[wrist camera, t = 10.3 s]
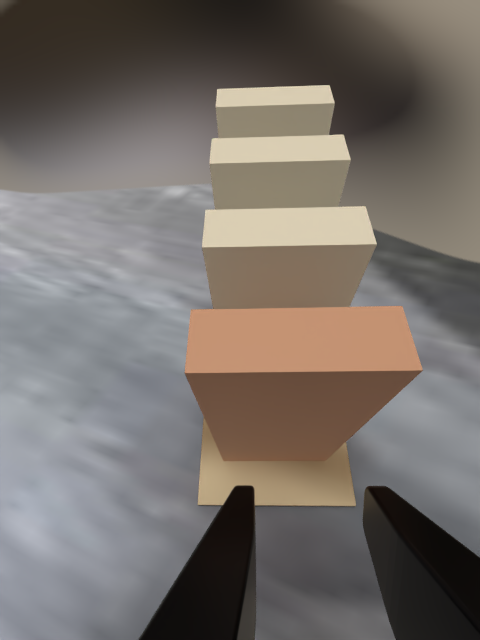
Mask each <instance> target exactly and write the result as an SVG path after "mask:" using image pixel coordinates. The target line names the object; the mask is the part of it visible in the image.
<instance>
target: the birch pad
mask: <svg viewBox="0 0 480 640" xmlns="http://www.w3.org/2000/svg"><path fill="white" fill-rule="evenodd" d="M237 485H251V486H253V487H254V490H255V506H356V503H355V496H354V490H353V484H352V477H351V471H350V465H349V458H348V452H347V446H346V442H345V443H344V444H343V445H342V446H341V447H340V448H339V449H338V450H336V451H335V452H334V453H333V454H332V455H331V456H330V457H329V458H328V459H327V460H326V461H223V459H222V457H221V454H220V452H219V450H218V447H217V445H216V443H215V441H214V438H213V436H212V434H211V432H210V429H209V427H208V425H207V423H206V420H205V418H204V420H203V435H202V449H201V464H200V479H199V494H198V505H223V504H224V502H225V501H226V499H227V497H228V496H229V494H230V493H231V491H232V489H233V488H234V487H235V486H237Z"/></svg>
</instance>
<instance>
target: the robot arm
mask: <svg viewBox="0 0 480 640" xmlns="http://www.w3.org/2000/svg"><path fill="white" fill-rule="evenodd" d="M363 528H364V533H365V536H366V540H367V544H368V547H369V551H370V555H371V558H372V562H373V565H374V569H375V573H376V576H377V580H378V583H379V587H380V591H381V594H382V598H383V601H384V605H385V608H386V612H387V615H388V618H389V622H390V624H391V627H392V630H393V633H394V636H395V638H396V640H480V557H478V556H477V555H476V554H474V553H473V552H472V551H471V550H469V549H468V548H467V547H465V546H464V545H463V544H461V543H460V542H459V541H458V540H456V539H455V538H454V537H452V536H451V535H450V534H448V533H447V532H446V531H445V530H443V529H442V528H441V527H439V526H438V525H437V524H435V523H434V522H433V521H431V520H430V519H429V518H428V517H426V516H425V515H424V514H422V513H421V512H420V511H418V510H417V509H416V508H415V507H413V506H412V505H411V504H409V503H408V502H407V501H405V500H404V499H403V498H401V497H400V496H399V495H398V494H396V493H395V492H394V491H392V490H391V489H390V488H388V487H386V486H368V487H367V488H366V490H365V494H364V508H363ZM255 624H256V543H255V490H254V487H253V486H251V485H237V486H235V487H234V488H233V489H232V491H231V493H230V494H229V496H228V497H227V499H226V501H225V502H224V504H223V505H222V507H221V509H220V510H219V512H218V513H217V515H216V517H215V518H214V520H213V521H212V523H211V525H210V526H209V528H208V529H207V531H206V533H205V534H204V536H203V537H202V539H201V541H200V542H199V544H198V545H197V547H196V548H195V550H194V552H193V553H192V555H191V556H190V558H189V560H188V561H187V563H186V564H185V566H184V568H183V569H182V571H181V572H180V574H179V576H178V577H177V579H176V580H175V582H174V584H173V585H172V587H171V588H170V590H169V592H168V593H167V595H166V596H165V598H164V600H163V601H162V603H161V604H160V606H159V608H158V609H157V611H156V612H155V614H154V616H153V617H152V619H151V620H150V622H149V624H148V625H147V627H146V628H145V630H144V632H143V633H142V635H141V636H140V638H139V640H254V639H255Z"/></svg>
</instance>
